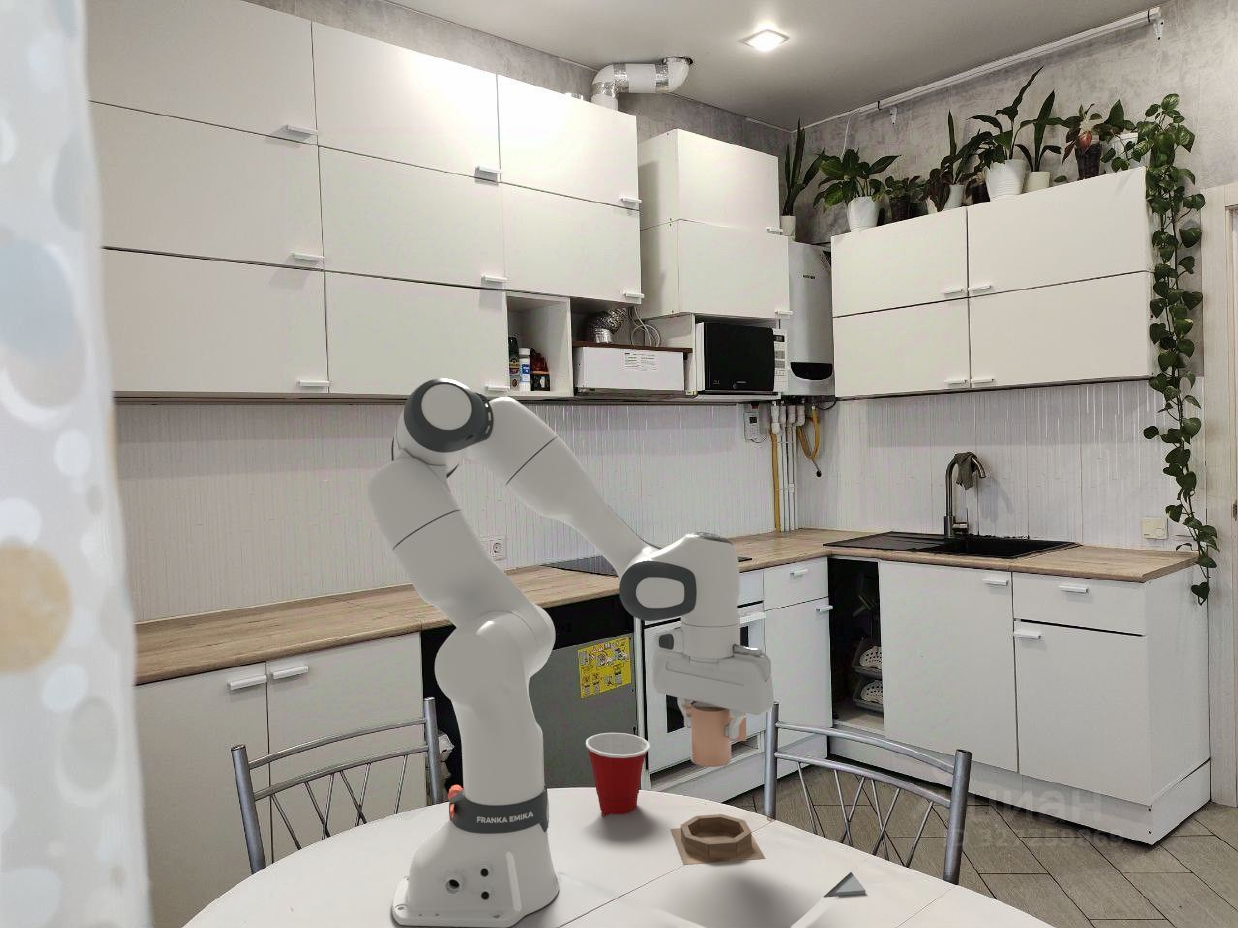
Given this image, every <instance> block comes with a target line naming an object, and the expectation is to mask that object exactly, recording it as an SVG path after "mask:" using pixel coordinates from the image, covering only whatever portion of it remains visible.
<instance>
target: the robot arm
mask: <svg viewBox="0 0 1238 928" xmlns="http://www.w3.org/2000/svg"><path fill="white" fill-rule="evenodd" d="M390 447H391V449H390V450H391V461H389V462H388V463H385V464H384V465H383V466H381V467H380V468H379V469H378V470H377V471H376V472H375V473H374V474H373V476H372V477H371V478H370V481H369V483H368V486H367V496H368V499H369V501H370V505H371V508H372V512H373V513H374V517H375V519H376V521H377V523H378V525H379V527H380V529H381V532H382V534H383V537H384V538H385V540H386V542H387V543H388V545H389V547H390V549H391V551H392V552H393V554H394V555H395V557H396V559H397V560H398V562H399V564H400V565H401V567H402V569H403V571H404V572H405V573H404V574H406V575H407V578H408V579H409V581H410V582H411V584H412V586H413V588H414V589H415V591H416V592H417V594H418V596H419V597H420V598H421V600H422V601H423V602H424V603H426V604H428V605H429V606H432V607H434V608H435V609H436V610H438V611H439V612H440V613H441V614H443V615H444V616H445V617H446V619H448V620H449V621H450V623H452V625H454V626H455V627H456V628H455V629H454V630H453V631H452V632H451V633H450V635H449V636H448V637H447V638H446V639H445V641H444V642H443V643H442V644H441V646H440V647H439V649H438V652H437V653H436V657H435V659H434V660H435V661H434V675H435V679H436V681H437V685H438V686H439V688H440V690H441V692H442V693H443V694H444V695H445V696H446V698H448V699H449V700H450V701H451V704H452V708H453V711H454V714H455V716H456V722H457V724H458V729H459V734H460V740H461V753H462V754H461V756H462V757H461V758H462V779H463V780H462V781H463V782H462V783H463V787H462V786H461V785H459V784H454V785H452V786H450V788H449V791H448V795H447V798H448V801H449V802H448V815H449V819H448V820H447V821H446V822H444V823H443V824H442V825H440V826H439V828H436V830H435V831H433V832H432V833H431V834H429V835H427V837H426V838H424V839H423V841H422V842H421V843H420V844H419V846H417V849H416V850H415V853H414V854H413V855H414V856H413V858H412V861H411V863H410V868H409V872H408V873H406V874H405V875H404V876H403V878H401V880H400V881H399V883H397V886H396V888H395V890H394V892H393V896H392V902H391V903H392V904H391V914H392V917H393V919H394V921H395V922H397V924H398V925H400V926H415V927H418V926H420V927H421V926H423V927H424V926H425V927H456V928H457V927H459V928H460V927H461V928H462V927H463V928H464V927H465V928H467V927H468V928H509V927H513V926H514V925H515V924H518V922H519V921H521V919H523V918H524V917H525V916H526V915H529V914H531V913H534V912H536V911H539V910H540V909H542V908H544V907H545V906H547V905H548V904H550V903H551V902H552V901H553V900H554V899H555V898H556V897H557V895H558V893H559V890H560V882H559V880H558V877H557V875H556V874H557V873H556V871H555V867H554V863H553V859H552V854H551V848H550V842H549V834H548V829H549V823H550V800H549V796H550V795H549V794H548V787H547V785H546V783H545V771H544V769H545V768H544V767H545V766H544V761H545V760H544V737H543V730H542V728H541V726H540V724H538V723H537V721H536V718H535V714H534V712H533V711H534V710H533V706H532V703H531V699H530V693H529V691H530V690H529V688H530V687H529V686H530V680H531V679H530V678H531V677H533V676H534V675H535V674H536V673H538V672H539V671H541V669H542V668H543V667H544V665H545V664H547V662H548V660H549V658H550V656H551V654H552V651H553V648H554V647H555V646H554V645H555V643H556V628H555V625H554V621H553V620H552V617H551V616H550V615H549V613H548V612H547V611H546V610H545V609H543V608H542V607H541V606H539V605H537V604H536V603H534V602H532V601H531V600H530V599H529V597H527V595H526V594H525V593H524V592H523V591H522V590H521V589H520V588H519V586H518V585H517V584H516V583H515V581H513V580H512V579H511V578H510V577H509V576H508V575H507V574H506V572H505V571H504V570H503V569H502V568H501V567H500V565H499V564H498V563H497V562H496V561H495V559H494V558H493V557H492V556H491V554H490V553H489V551H488V550H487V548H486V546H485V545H484V543H483V542H482V540H481V538H480V537H479V535H478V534H477V532H476V530H475V529H474V527H473V525H472V524H471V522H470V521H469V519H468V518H467V516H466V514H465V512H464V511H463V509H462V507H461V506H460V505H459V503H458V501H457V500H456V498H455V497H454V496H453V494H452V493H451V489H450V487H449V483H448V480H447V479H448V478H449V477H451V476H452V474H453V473H454V472H455V471H456V470H457V468H458V467H459V465H460V463H461V462H462V461H464V460H465V459H467V460H469V461H473V462H476V463H478V464H480V465H482V466H484V467H485V468H486V469H488V470H489V471H491V472H492V473H493V475H494V476H495V477H496V478H497V479H498V481H499V482H500V483H502V485H503V486H504V487H505V488H506V489H507V490H508V491H509V493H511V494H512V495H513V496H514V497H515V498H516V499H517V500H519V501H520V502H521V503H522V504H523V505H524V506H526V507H527V508H529V510H532V511H533V512H535V513H536V514H537V515H538V516H540V517H543V518H548V519H551V520H554V521H558V522H561V523H563V524H565V525H567V526H568V527H570V528H573V529H574V530H575V531H577V532H578V533H579V534H580V535H581V536H582V537H583V538H585V540H587V542H589V543H590V545H592V546H593V548H594V549H596V550H597V551H598V552H599V554H601V556H603V558H605V559H606V561H607V562H608V563H609V564H610V565H611V566H612V567H613V569H614V570H615V573H616V574H617V576H618V579H619V586H618V594H619V599H620V601H621V604H622V606H623V608H624V609H625V610H626V611H627V612H628V614H630V615H631V616H633V617H634V618H636V619H638V620H640V621H645V622H656V621H662V620H667V619H673V618H678V617H680V626H678V627H674V628H672V629H669V630H664V631H662V632H658V633H657V634H655V635H654V636H653V644H654V647H655V648H656V650H655V651H654V652H653V654H652V661H651V685H652V686H653V689H654V691H655V692H656V693H657V694H661V695H667V696H672V697H675V698H677V705H678V708H679V710H680V712H681V715H682V716H683V726H684V727H685V728H687V729H691V713H685V711H684V706H691V705H692V703H694V702H701V703H705V704H710V705H714V706H718V707H723V708H727V709H730V716H732V717H733V719H732V721H731V723H730V724H728V725H725V726H724V731H725V733H724V736H725V737H727V738H731V739H735V738H737V737H738V736H739V725H740V724H741V722H742V720H743V718H744V717H746V715H747V714H749V715H750V714H751V715H753V716H761V715H763V714H766V713H768V712H770V711H771V709H772V708H773V707H774V704H775V699H774V698H775V697H774V686H773V678H772V662H771V661H772V660H771V659H770V658H769V657H768V655H767V654H766V653H764V652H763V650H762V649H760V648H756V647H749V646H745V645H741V618H740V615H739V614H740V613H739V611H738V600H739V597H740V594H741V591H740V590H741V588H740V587H741V586H740V583H741V582H740V581H741V580H740V579H741V578H740V565H739V557H738V552H737V548H736V546H735V545H734V544H733V543H732V541H731V540H729V539H728V538H726V537H724V536H721V535H718V534H714V533H710V532H704V531H700V532H699V531H691V532H690V531H689V532H687V533H686V534H685V535H684V536H683V537H681V538H679V539H678V540H677V541H674V543H673V542H672V543H671V544H669V545H668V546H665V547H663V548H662V547H660V546H657V545H655V544H652V543H650V542H647V541H646V540H644V539H642V537H640V535H638V534H637V533H636V532H635V531H634V530H633V529H632V528H631V527H630V526H629V525H628V524H627V523H626V522H625V521H624V520H623V519H622V518H621V517H620V516H619V515H618V514H617V513H616V512H615V511H614V510H613V509H612V508H611V507H610V506H609V505H608V504H607V503H606V502H605V500H604V499H603V498H602V495H600V492H599V491H598V490H597V488H596V486H595V485H594V483H593V481H592V479H591V478H590V476H589V474H588V473H587V471H586V470H585V468H584V466H583V465H582V463H581V461H580V460H579V458H578V457H577V456H576V455H575V454H574V452H573V451H572V450H571V448H570V447H569V446H568V445H567V443H566V442H565V441H564V440H563V439H562V438H561V437H560V436H559V435H558V434H557V433H556V432H555V431H554V430H553V429H552V428H551V427H550V426H549V425H548V424H546V422H545V421H544V420H542V418H541V417H539V416H538V415H536V413H534V412H533V411H532V410H530V409H529V408H527V406H525V405H524V404H522V403H521V402H519V401H518V400H516V399H514V398H512V397H508V396H503V397H497V398H493V399H491V400H488V399H487V397H486V396H485V395H484V394H482V393H480V392H476V391H475V390H472V388H469V387H468V386H467V385H465V384H463V383H461V382H459V381H457V380H454V379H450V378H446V377H439V378H433V379H429V380H427V381H424V382H423V383H422V384H421V385H419V386H418V387H416V388H415V389H414V390H413V391H412V393H411V394H410V395H409V396H408V397H407V399H406V400H405V405H404V408H403V410H402V411H401V413H400V414H399V416H398V419H397V421H396V424H395V427H394V435H393V437H392V441H391V446H390ZM545 666H546V665H545Z"/></svg>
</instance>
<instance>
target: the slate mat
mask: <svg viewBox="0 0 1238 928" xmlns="http://www.w3.org/2000/svg"><path fill="white" fill-rule="evenodd" d="M855 895H856V896H857V895H866V889H865V888H864V887H863V885H862V884H861V883H860V881H859V880H858V878H857V877H856V876H855V875H854V873H853V872H852V871H850V872H849V873H848V874H847V875H846V876H844V878H842V879H841V880H840V881H839V882H838V883H837V884H836V885H835V886H833V887H832V888H831V889H830V890H829V891H828V892H827V893H826V894H825V895H824V896H823V898H831V897H842V896H843V897H844V896H845V897H846V896H855Z"/></svg>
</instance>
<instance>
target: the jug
mask: <svg viewBox="0 0 1238 928" xmlns="http://www.w3.org/2000/svg"><path fill="white" fill-rule="evenodd" d="M684 711H685V713H691V728H690V760H691V762H692V763H693V764H695V765H698V766H702V767H708V768H718V767H724V766H727V765H730V763H731V762H732V742H743V741H744V742H746V741H747V716H745V717H744V718H743V720H742V722H741V724H740V725H739V736H738V737H737V738H735V739H731V738H727V737H725V736H724V733H725V731H724V726H725V725H728V724H730V723H731V721H732V719H733V717H732V716H730V709H727V708H723V707H718V706H714V705H710V704H705V703H701V702H697V701H695V702H693V703H691V706H684Z"/></svg>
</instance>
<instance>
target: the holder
mask: <svg viewBox="0 0 1238 928" xmlns="http://www.w3.org/2000/svg"><path fill="white" fill-rule="evenodd" d="M670 832H671V835H672V838H673V841H674V842H675V846H676V848H677V851H678V854H679V857H680V859H681V862H682V865H683V866H687V865H699V864H701V865H703V864H714V863H727V862H728V863H729V862H739V861H752V860H753V861H754V860H764V859H766V857H765V855H764V853H763V852H762V850H761V848H760V846H759V845H758V843H757V841H756V839H755V837H754V836H753V833H752V830H751V829H750V827H749V825H748V823H747V822H746V820H745V819H740V818H738V817H734V816H730V815H726V814H724V813H723V814H722V813H718V814H704V815H703V814H702V815H695V816H693V817H692V818H690V819H688V820H687V821H685V822H683V823H682V824H680V827H679V828H677V827H676V828H670Z"/></svg>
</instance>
